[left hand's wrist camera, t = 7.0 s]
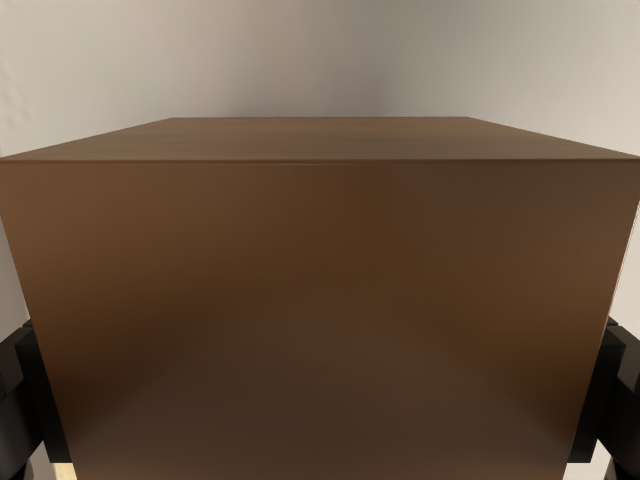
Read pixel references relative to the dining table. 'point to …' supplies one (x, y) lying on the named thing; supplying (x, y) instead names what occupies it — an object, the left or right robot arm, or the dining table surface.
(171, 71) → the dining table surface
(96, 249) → the wooden square beam
